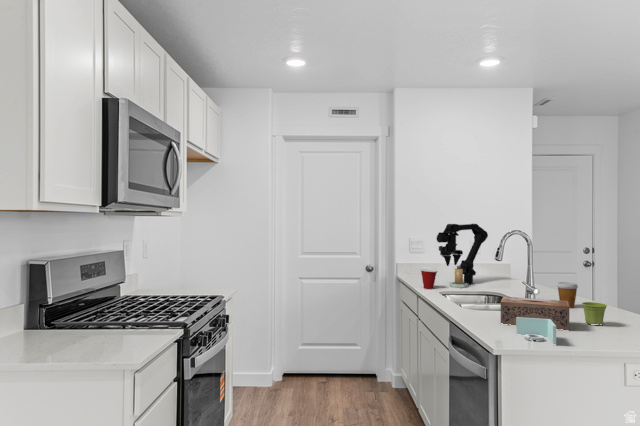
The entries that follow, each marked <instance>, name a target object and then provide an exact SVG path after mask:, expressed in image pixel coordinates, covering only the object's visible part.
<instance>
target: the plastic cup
mask: <svg viewBox="0 0 640 426" xmlns="http://www.w3.org/2000/svg"><path fill="white" fill-rule="evenodd" d="M420 273H421V278H422V284H423V288H425V289H424V290H433V289H434V286H435V281H436V276H437V273H438V270H435V269H434V270H433V269H427V268H426V269H422V268H421V269H420Z"/></svg>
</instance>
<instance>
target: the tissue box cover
mask: <svg viewBox="0 0 640 426" xmlns="http://www.w3.org/2000/svg"><path fill="white" fill-rule="evenodd" d="M516 317H522V318H539V319H551V320H552V322H553V323H554V324H555V325H556V329H563V330H569V331H570V308H569V304H568V301H561V300H558V299H546V298H545V299H544V298H529V297H516V296H515V297H513V296H502V298H501V300H500V324H501V323H503V324H511V325H516ZM511 325H510V326H511ZM563 330H562V331H563Z"/></svg>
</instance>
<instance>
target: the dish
mask: <svg viewBox="0 0 640 426" xmlns="http://www.w3.org/2000/svg"><path fill="white" fill-rule="evenodd" d="M449 286H450V288H455V289H456V288H457V289H465V288H468V287H469V284H467V283H464V282H463V284H455V281H452V282H449Z"/></svg>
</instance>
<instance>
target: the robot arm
mask: <svg viewBox="0 0 640 426" xmlns="http://www.w3.org/2000/svg"><path fill="white" fill-rule="evenodd" d="M468 230H470V231H471V232H472V234H473V235H474V237H473V239H474V240H473V243H472V246H471V248H470V251H469V252H468V255H467V257H466V259H465V260H461V261H460V262H461V263H460V264H459V266H461V269H463V283H467V284H468V285H475V284H476V282H474V276H476V274H477V272H476V271H475V269H474V261H475V259H476V256H477V255H478V253H479V250H480V248H481V245H482V244H483V243H484V242H486V240H487V239H488V236H489V234H488V232H487V231H486V230H485V229H484V228H482V227H481V226H479V224H477V223H470V224H469V223H468V224H457V223H447V225H445V228H444V230H443V232H437V233H438V234H437V235H436V241H437V243H446V244H445V246H443V245H440V246H438V251H439V252H440V253H439V254H440V256H441V257H442V258H443V259H444V261H445V265H446V266H447V267H449V266H450V262H451V259H452V257H453V263H454V266H457V264H458V261H459V260H460V259H461V256H462V255H463V253H464V252H463V250H461V249H457V246H458V243H457V237H458V236H460V235H459V233H458V232H460V231H468Z"/></svg>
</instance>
